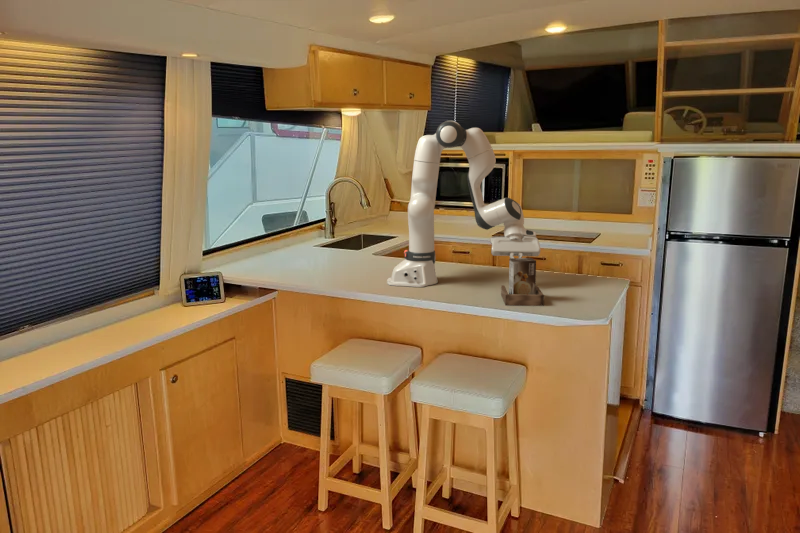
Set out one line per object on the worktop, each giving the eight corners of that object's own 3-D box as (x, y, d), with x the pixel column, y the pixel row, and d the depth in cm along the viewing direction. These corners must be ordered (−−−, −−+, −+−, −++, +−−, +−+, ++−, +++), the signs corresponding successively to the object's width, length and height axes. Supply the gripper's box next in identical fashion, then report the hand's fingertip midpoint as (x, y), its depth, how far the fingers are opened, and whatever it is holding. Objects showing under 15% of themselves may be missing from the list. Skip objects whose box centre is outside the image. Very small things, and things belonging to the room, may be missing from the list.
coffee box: (530, 296, 235) (531, 257, 232) (535, 300, 229) (537, 260, 225) (508, 297, 234) (509, 258, 231) (512, 301, 228) (513, 261, 225)
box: (505, 305, 223) (505, 295, 222) (501, 294, 238) (501, 285, 237) (543, 305, 222) (544, 295, 221) (536, 295, 237) (537, 285, 236)
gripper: (490, 231, 248) (491, 258, 241) (539, 232, 247) (542, 259, 239) (489, 240, 253) (490, 267, 246) (537, 240, 252) (539, 267, 245)
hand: (516, 263), depth 243 cm, fingers closed
